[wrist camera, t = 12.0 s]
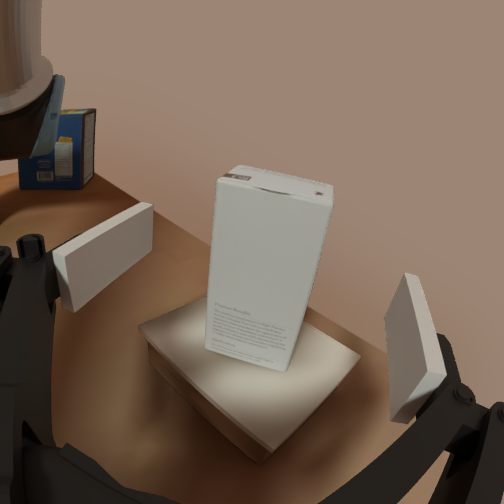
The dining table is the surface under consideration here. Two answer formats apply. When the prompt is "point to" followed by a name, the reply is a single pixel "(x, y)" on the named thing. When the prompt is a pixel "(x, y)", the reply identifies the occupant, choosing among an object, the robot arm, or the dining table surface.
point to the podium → (245, 379)
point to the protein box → (64, 155)
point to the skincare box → (263, 262)
